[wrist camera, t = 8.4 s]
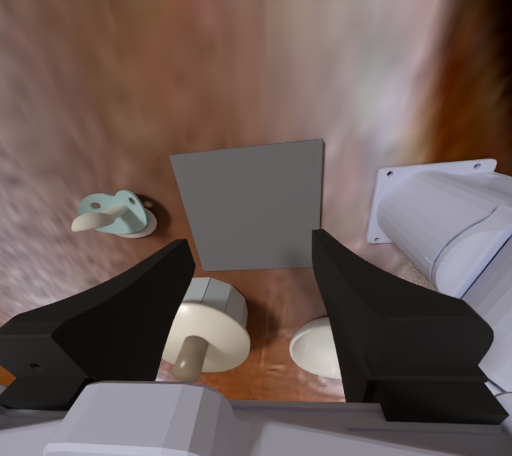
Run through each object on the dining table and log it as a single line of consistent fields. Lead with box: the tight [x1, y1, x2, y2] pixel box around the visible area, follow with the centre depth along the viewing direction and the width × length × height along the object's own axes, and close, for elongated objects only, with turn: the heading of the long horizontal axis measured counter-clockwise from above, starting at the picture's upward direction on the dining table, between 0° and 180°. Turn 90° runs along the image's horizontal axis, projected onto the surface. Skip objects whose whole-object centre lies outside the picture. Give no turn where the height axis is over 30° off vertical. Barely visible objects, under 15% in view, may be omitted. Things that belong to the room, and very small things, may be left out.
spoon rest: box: [290, 317, 342, 379], centre depth 27 cm, size 24×12×7 cm, turn 100°
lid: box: [162, 301, 250, 382], centre depth 24 cm, size 13×13×4 cm
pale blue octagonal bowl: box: [182, 277, 248, 329], centre depth 28 cm, size 11×11×5 cm
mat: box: [169, 139, 323, 271], centre depth 22 cm, size 14×14×1 cm
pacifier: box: [72, 190, 157, 238], centre depth 21 cm, size 7×6×6 cm
